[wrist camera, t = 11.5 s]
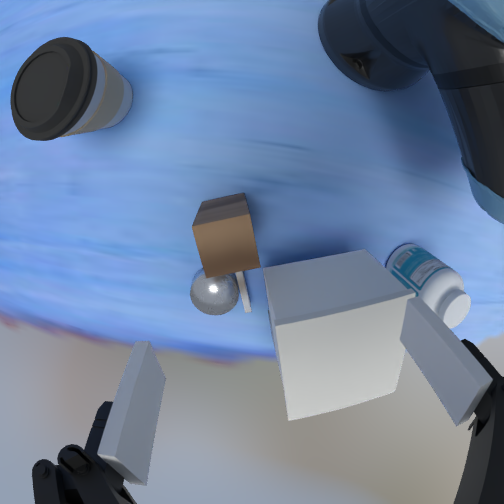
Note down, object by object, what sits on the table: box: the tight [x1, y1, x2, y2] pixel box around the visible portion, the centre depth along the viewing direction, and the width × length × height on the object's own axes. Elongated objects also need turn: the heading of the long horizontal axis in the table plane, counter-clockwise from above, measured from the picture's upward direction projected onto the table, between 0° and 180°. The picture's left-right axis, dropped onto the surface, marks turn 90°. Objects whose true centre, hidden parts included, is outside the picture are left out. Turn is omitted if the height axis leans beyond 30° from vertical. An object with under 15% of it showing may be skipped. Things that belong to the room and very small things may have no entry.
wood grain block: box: [192, 193, 260, 313], centre depth 32 cm, size 14×5×10 cm, turn 11°
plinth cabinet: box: [263, 249, 416, 421], centre depth 31 cm, size 13×12×16 cm
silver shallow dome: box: [190, 268, 239, 315], centre depth 37 cm, size 6×6×2 cm
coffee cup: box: [11, 37, 133, 141], centre depth 21 cm, size 9×9×15 cm
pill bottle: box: [386, 244, 471, 328], centre depth 33 cm, size 8×7×14 cm
